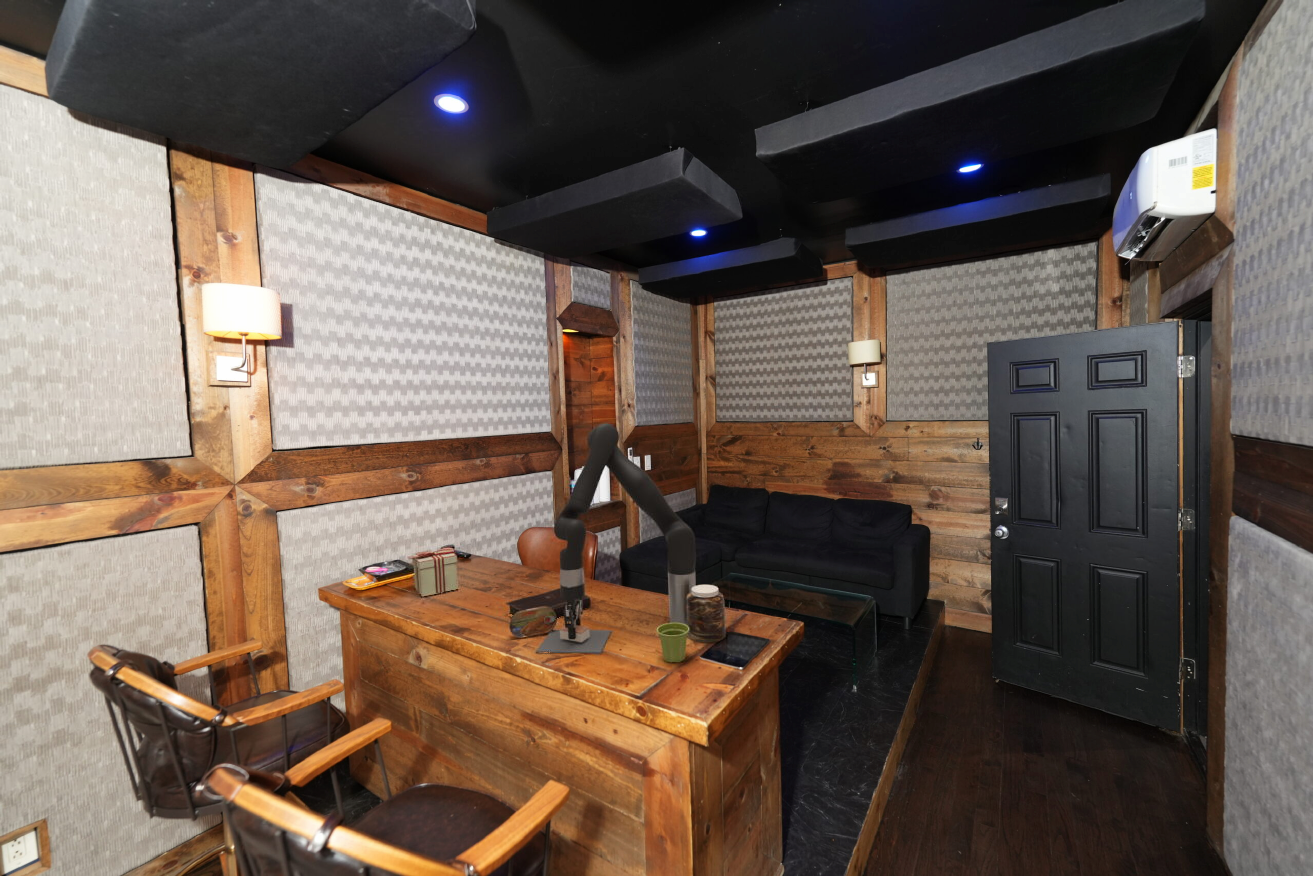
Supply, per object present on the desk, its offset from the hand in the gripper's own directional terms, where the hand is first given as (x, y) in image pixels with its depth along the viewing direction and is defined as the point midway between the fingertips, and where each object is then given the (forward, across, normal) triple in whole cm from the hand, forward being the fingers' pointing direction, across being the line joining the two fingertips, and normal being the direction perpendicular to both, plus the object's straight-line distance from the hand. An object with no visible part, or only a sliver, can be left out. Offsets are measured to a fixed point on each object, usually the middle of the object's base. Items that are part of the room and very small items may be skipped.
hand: (574, 634), depth 166 cm
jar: (+3, -6, +41) cm, 42 cm away
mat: (+2, 0, 0) cm, 2 cm away
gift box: (+3, -50, -75) cm, 90 cm away
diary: (+3, -26, -17) cm, 31 cm away
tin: (+2, -5, -15) cm, 16 cm away
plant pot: (+3, +10, +32) cm, 34 cm away
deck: (+1, 0, 0) cm, 1 cm away
